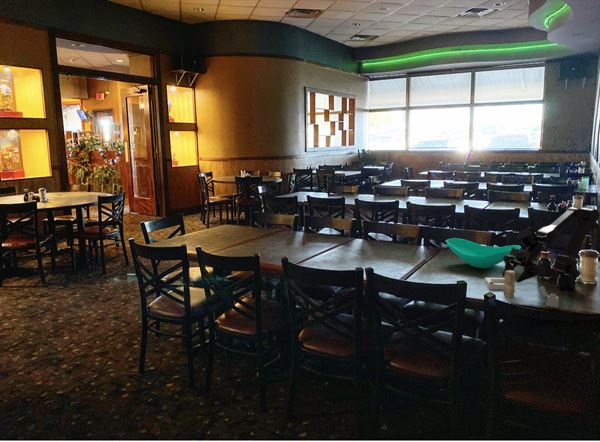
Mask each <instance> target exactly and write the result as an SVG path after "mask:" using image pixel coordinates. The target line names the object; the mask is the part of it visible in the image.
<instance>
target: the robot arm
mask: <svg viewBox="0 0 600 442" xmlns="http://www.w3.org/2000/svg"><path fill="white" fill-rule="evenodd" d="M599 218H600V211H599V210H598V209H596V208H591V207H590V208H589V207H572V206H571V207H568V208H567V210H566V211H565V212H564V213H563V214H561V215H560V216H559V217H558V218H556V220H554V221H553V222H552V223H551V224H550V225H547V226H543V227H541V228H540V229H538V230H537V231H536V232H534V230H533V229H532V228H531V227H526V228H524V229H522V230H520V231H518V233H517V234H516V236H517V237H516V238H517V239H518V240H519V241H520V242H521V243H522V244H523V246H525V247H526V248H525V249H524V248H522V249H520V250H518V249H515V248H512V249H511V251H510V255H513V256H509V255H505V256H504V257H503V260H504V261H503V263H504V269H503V271H502V275H501V277H502V278H505V271H508V270H511V271H515V269H516V268H517V267H521V268H523V271H522V272H521V274H520V276H519V277H517V279H516V282H517V283H522V282H523V281H526V280H528V279H530V278H535V277H541V276H540V275H541V274H542V272H543V270H542V269H541V267H540V266H539V265H537V263H535V262H538V257H539V256H540V254H541V253H543V252H544V253H547V252H548V248H547V247H548V246H547V245H552V244H553V243H555V241H556V240H557V239H558V237H559V234H560V233H561V232H562V231H563V230H564V229H565V228H567V227H568V226H569V225H570V224H571V223H572V222H573V221H575V220H576V227H575V228H574V230H573V233H572V235H571V238H570V240H569V241H568V243H567V246H566V248H565V251H564V252H563V253H562V254H557V255H556V258H555V260H554V261H553V262H554V263H553V267H554V269H555V273H556V274H557V275H559V276H557V282H556V283H557V287H558V289H559V290H567V291H576V279H577V278H580V275H581V272H580V270H578V268H577V265H578V263H577V256H578V253H579V251H580V249H581V246H582V245H583V242H584V241H585V237H586V236H587V234H588V231H589V229H590V228H592V227H593V226H594V225H596V224H597V222H598V220H599ZM544 244H546V245H544Z"/></svg>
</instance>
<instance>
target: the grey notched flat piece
mask: <svg viewBox="0 0 600 442" xmlns="http://www.w3.org/2000/svg"><path fill="white" fill-rule="evenodd" d="M539 289H540V292H541V294H542V297H545V298H546V305H545V306H546V307H549V306H550V308H554V307H555V309H558V308H559V299H560V297H559V296H557V295H556V294H555V293H550V294H548V292H547V290H546V287H545V286H544V285H542V286H540V287H539Z"/></svg>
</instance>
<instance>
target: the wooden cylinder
mask: <svg viewBox="0 0 600 442" xmlns="http://www.w3.org/2000/svg"><path fill="white" fill-rule="evenodd" d="M504 278H505V280H504V290H503V296H504V297H506V298H508V297H509V298H514V297H515V286H516V272H515V270H513V271H511V270H508V271H505V277H504Z"/></svg>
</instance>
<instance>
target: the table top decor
mask: <svg viewBox="0 0 600 442" xmlns="http://www.w3.org/2000/svg"><path fill="white" fill-rule="evenodd" d="M445 242H446V245H447V247H448V248H449V249H450V250H451V251H452V252H453V253H454V254H455V255H456V256H458V257H459V258H460V259H461V260H462V261H464V262H465V263H466V264H468V265H469V266H471V267H474V268H477V269H478V268H479V269H490V268H492V267H494V266H496V265H498V264H500V263H504V260H503V257H504V256H505V255H509V256H513V255H510V251H511V249H512V248H515V249H518V250H522V249H521V248H522V246H521V245H518V244H517V245H516V244H514V245H512V244H511V245H505V246H500V247H498V246H492V245H482V244H479V243H476V242H473V241H472V240H468V239H463V238H457V237H453V238H452V237H451V238H448V239H446V240H445ZM513 257H514V256H513Z"/></svg>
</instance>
